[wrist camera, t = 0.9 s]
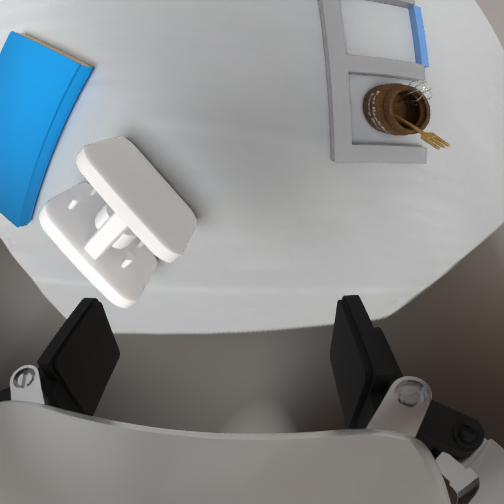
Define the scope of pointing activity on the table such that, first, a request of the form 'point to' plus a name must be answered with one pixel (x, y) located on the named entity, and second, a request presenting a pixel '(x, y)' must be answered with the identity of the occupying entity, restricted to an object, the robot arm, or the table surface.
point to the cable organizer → (118, 220)
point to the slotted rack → (352, 64)
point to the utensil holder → (400, 111)
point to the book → (32, 117)
